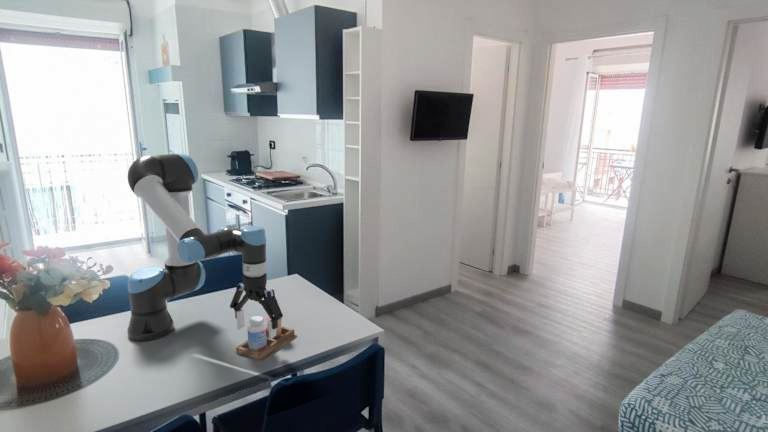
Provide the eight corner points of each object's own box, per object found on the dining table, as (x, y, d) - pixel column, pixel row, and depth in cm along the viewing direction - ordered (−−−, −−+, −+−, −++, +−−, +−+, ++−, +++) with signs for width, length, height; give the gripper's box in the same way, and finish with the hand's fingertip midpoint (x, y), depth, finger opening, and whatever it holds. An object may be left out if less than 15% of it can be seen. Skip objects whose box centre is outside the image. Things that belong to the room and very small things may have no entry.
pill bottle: (261, 354, 145) (260, 323, 142) (245, 352, 146) (243, 321, 143) (270, 345, 150) (268, 315, 148) (253, 343, 152) (252, 314, 149)
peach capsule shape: (264, 339, 155) (263, 318, 153) (273, 333, 159) (272, 313, 158) (276, 342, 153) (275, 321, 151) (284, 336, 157) (284, 315, 156)
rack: (234, 354, 146) (233, 346, 145) (270, 330, 163) (269, 323, 162) (262, 363, 141) (262, 355, 141) (296, 337, 158) (296, 330, 158)
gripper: (217, 270, 144) (220, 328, 148) (278, 284, 134) (279, 346, 139) (233, 263, 150) (235, 319, 155) (293, 276, 141) (293, 335, 145)
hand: (256, 332), depth 147 cm, fingers open, 13 cm apart
